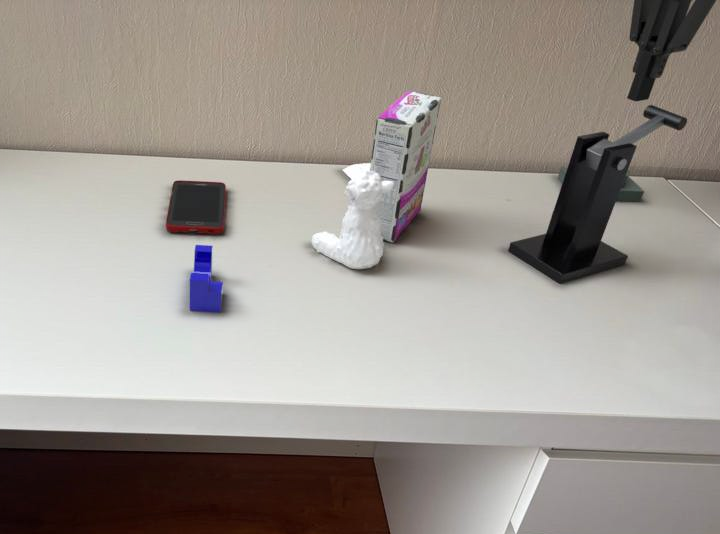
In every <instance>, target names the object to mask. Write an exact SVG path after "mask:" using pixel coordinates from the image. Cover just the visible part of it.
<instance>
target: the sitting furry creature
mask: <svg viewBox="0 0 720 534" xmlns="http://www.w3.org/2000/svg"><path fill="white" fill-rule="evenodd" d="M393 185H394V183H393V181H381V175H379V173H376V172H375V171H372V170H371V171H368V170H367V171H362V172H358V173H357V174H356V176H355V177H354V178H353V179H352V180H351V179H350V180H349V181H348V182H347V185H346V186H345V191H344V196H345V197H346V198H347V199H348V201H349V202H350V204H349V205H347V211H346V212H344V217H343V218H342V221H341V231H340V234H339V237H337V236H336V235H335V233H332V232H328V231H326V230H324V231H321V232H320V231H319V232H317V233H314V234H313V235H312V238H311V245H312V247H313V248H314V249H315V251H316V253H318V254H319V253H320V254H322V255H324V256H326V257H327V258H330V259H331V260H333V261H335V262H337V263H339V264H340V263H341V264H342V265H343V266H345V267H346V268H349V269H352V270H353V269H354V270H367V269H371V268H372V267H374V266H376V265H378V264H379V263H380V261H381V260H380V259H381V257H383V256H384V247H385V243H384V240H383V236H381V233H382V232H381V230H380V229H381V219H380V213H379V212H378V209H377V206H376V205H377V204H378V203H379V202H380V201H381V199H382V196H383V193H387V192H390V191H391V189H392V188H393Z"/></svg>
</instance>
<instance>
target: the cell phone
mask: <svg viewBox="0 0 720 534" xmlns="http://www.w3.org/2000/svg"><path fill="white" fill-rule="evenodd" d="M226 192H227V186H226V183H224V182H221V181H204V180H203V181H201V180H184V179H183V180H181V179H180V180H174V181H173V183H172V187H171V192H170V197H169V203H168V209H167V214H166V220H165V229H166V231H168V232H173V233H198V234H214V235H215V234H222V233H223V232H224V230H225V218H226V217H225V216H226V215H225V214H226Z"/></svg>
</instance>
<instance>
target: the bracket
mask: <svg viewBox="0 0 720 534" xmlns="http://www.w3.org/2000/svg"><path fill="white" fill-rule="evenodd" d="M609 137H610V134H609V133H608V132H605V131H599V132H594V133H588V134H583V135H578V136H577V138H576V141H575V143H574V147H573V150H572V153H571V156H570V159H569V161H568V165H567V167H566V168H567V171H566V174H565V177H564V180H563V183H562V182H561V183H562V184H561V187H560V189H559V192H558V196H557V199H556V202H555V205H554V208H553V211H552V214H551V218H550V220H549V223H548V226H547V229H546V233H543V234H539V235H536V236H530V237H527V238H523V239H519V240H514V241H511V242H510V243H509V246H508V249H507V250H508V252H509V253H511V254H512V255H514V256H515V257H517V258H518V259H520V260H522V261H523V262H525V263H526V264H528V265H529V266H531V267H533V268H534V269H536V270H538V271H539V272H540V273H542V274H544V275H545V276H547V277H548V278H550V279H552V280H553V281H555V282H556V283H558V284H563V283H566V282H569V281H573V280H577V279H581V278H583V277H586V276H590V275H593V274H597V273H600V272H604V271H607V270H610V269H614V268H617V267H621V266H625V265H626V263H627V260H628V258H629V255H628V254H625V253H624V252H622V251H620V250H618V249H616V248H615V247H613V246H611V245H609V244H608V243H606V242H604V241H602V239H603V237H604V234H605V232H606V229H607V226H608V224H609V221H610V218H611V216H612V213H613V210H614V207H615V205H616V203H617V201H616V200H617V197H618V195H619V192H620V189H621V187H622V184H623V181H624V179H625V176H626V173H627V171H628V170H629V169H630V165H631V163H632V160H633V157H634V155H635V152H636V150H637V145H635V144H634V143H633V144H631V143H628V144H623V145H618V146H613V147H608V148H604V151H603V154H602V157H601V160H600V163H599V165H598V168H597V171H595V170H593V169H591V168H589V167H587V166H586V153H587V149H588V148H590V147H591V146H593V145H595V144H596V143H598V142H600V141H601V140H603V139H606V140H609Z"/></svg>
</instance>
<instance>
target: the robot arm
mask: <svg viewBox="0 0 720 534" xmlns="http://www.w3.org/2000/svg"><path fill="white" fill-rule="evenodd" d="M692 1H693V0H633V8H632V14H631V21H630V30H629V35H628V36H629V41H630V42H632V43H633V42H634V43H635V44H636V45H637V46H638V51H637V54H636V58H635V61H634V63H633V66H632V73H634V77H633V81H632V82H631V86H630V89H629V91H628V94H627V97H626V99H627V100H630V101H633V102H641V101H646V100H649V99H650V96H651V94H652V90H653V87H654V84H655V82H656V79H660V78H661V77H662V75H663V74H664V71H665V68H666V66H667V64H668V60H669V57H670V56H671V54H673V53H674V54H675V53H681V52H685V51H687V49H688V47H689V46H690V44H691V42H692V41H693V39H694V37H695V36H696V34H697V33H698V30H699V29H700V27H702V25H703V23H704V21H705V20H706V18H707V17H708V15H709V13H710V11H711V10H712V8H713V7H714V5H715V3H716V2H717V0H694V1H693V3H692ZM691 3H692V5H691ZM690 5H691V7H690Z"/></svg>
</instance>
